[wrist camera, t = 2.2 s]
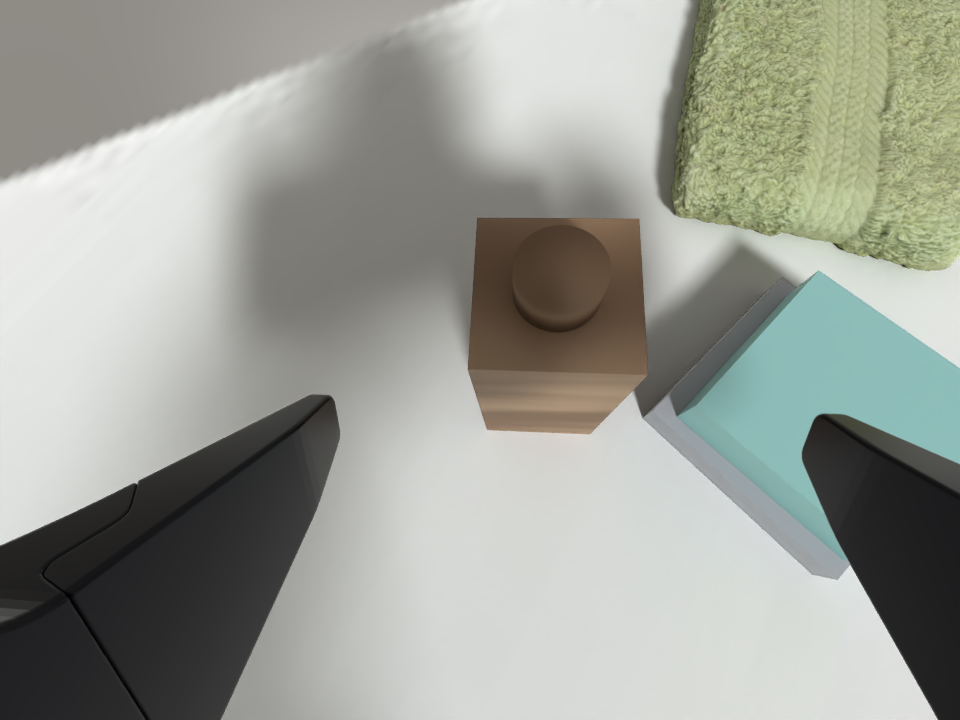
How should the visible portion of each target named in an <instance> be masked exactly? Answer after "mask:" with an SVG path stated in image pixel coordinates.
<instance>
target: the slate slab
mask: <svg viewBox="0 0 960 720" xmlns="http://www.w3.org/2000/svg"><path fill="white" fill-rule="evenodd" d="M795 289H796V287H795V286H793V285H792V284H791V283H789V282H788V281H787V280H785V279H784V278H781V279H780V280H779V281H778V282H777V283H776V284H775V285H773V286H772V287H771V288H770V289H769V290H768V291H767V292H765V293H764V294H763V295H762V296H761V297H760V299H759V300H758V301H757V302H756V303H755V304H754V305H753V306H752V307H751V308H750V309H749V310H748V311H747V312H746V313H745V314H744V315H743V316H742V317H741V318H740V319H739V320H738V321H737V322H736V323H735V324H734V325H733V326H732V327H731V328H730V329H729V330H728V331H727V332H726V333H725V334H724V335H723V336H722V337H721V338H720V339H719V340H718V341H717V342H716V343H715V345H714V346H713V347H712V348H711V349H710V350H709V351H708V352H707V353H706V354H705V355H704V356H703V357H702V358H701V359H700V360H699V361H698V362H697V363H696V364H695V365H694V366H693V367H692V368H691V369H690V370H689V371H688V372H687V373H686V374H685V375H684V376H683V377H682V378H681V379H680V380H679V381H678V382H677V383H676V384H675V385H674V386H673V387H672V388H671V389H670V391H669V392H668V393H667V394H666V395H665V396H664V397H663V398H662V399H661V400H660V401H659V402H658V403H657V404H656V405H655V406H654V407H653V408H652V409H651V410H650V411H649V412H648V413H647V414H646V415H645V416H644V417H643V419H644V420H645V421H646V422H647V423H648V424H649V425H650V426H652V427H653V428H654V429H655V430H656V431H657V432H658V433H659V434H660V435H661V436H662V437H664V438H665V439H666V440H667V441H668V442H669V443H670V444H671V445H672V446H673V447H674V448H675V449H677V450H678V451H679V452H680V453H681V454H682V455H683V456H684V457H685V458H686V459H687V460H688V461H690V462H691V463H692V464H693V465H694V466H695V467H696V468H697V469H698V470H699V471H700V472H702V473H703V474H704V475H705V476H706V477H707V478H708V479H709V480H710V481H711V482H712V483H713V484H715V485H716V486H717V487H718V488H719V489H720V490H721V491H722V492H723V493H724V494H725V495H727V496H728V497H729V498H730V499H731V500H732V501H733V502H734V503H735V504H736V505H737V506H738V507H740V508H741V509H742V510H743V511H744V512H745V513H746V514H747V515H748V516H749V517H750V518H751V519H753V520H754V521H755V522H756V523H757V524H758V525H759V526H760V527H761V528H762V529H763V530H765V531H766V532H767V533H768V534H769V535H770V536H771V537H772V538H773V539H774V540H775V541H776V542H778V543H779V544H780V545H781V546H782V547H783V548H784V549H785V550H786V551H787V552H788V553H790V554H791V555H792V556H793V557H794V558H795V559H796V560H797V561H798V562H799V563H800V564H801V565H803V566H804V567H805V568H806V569H807V570H808V571H809V572H810V573H811V574H812V575H817V576H822V577H827V578H832V579H837V580H838V579H839V578H840V576H841V575H842V574H843V573H844V571H845V570H846V569H847V568H848V566H849V565H850V563H849V561H845V560H842V559H841V558H840V557H839V556H838V555H837V554H835V553H834V552H833V551H832V550H831V549H830V548H828V547H827V546H826V545H825V544H824V543H823V542H821V541H820V540H819V539H818V538H817V537H816V536H815V535H813V534H812V533H811V532H810V531H809V530H808V529H806V528H805V527H804V526H803V525H802V524H801V523H799V522H798V521H797V520H796V519H795V518H794V517H792V516H791V515H790V514H789V513H788V512H787V511H786V510H784V509H783V508H782V507H781V506H780V505H779V504H777V503H776V502H775V501H774V500H773V499H772V498H770V497H769V496H768V495H767V494H766V493H765V492H764V491H762V490H761V489H760V488H759V487H758V486H757V485H755V484H754V483H753V482H752V481H751V480H750V479H748V478H747V477H746V476H745V475H744V474H743V473H741V472H740V471H739V470H738V469H737V468H736V467H735V466H733V465H732V464H731V463H730V462H729V461H728V460H726V459H725V458H724V457H723V456H722V455H721V454H719V453H718V452H717V451H716V450H715V449H714V448H712V447H711V446H710V445H709V444H708V443H707V442H706V441H704V440H703V439H702V438H701V437H700V436H699V435H697V434H696V433H695V432H694V431H693V430H692V429H690V428H689V427H688V426H687V425H686V424H685V423H683V422H682V421H681V420H680V419H679V418H678V417H677V416H678V415H679V414H680V412H681V411H682V410H683V409H684V408H685V407H686V406H687V405H688V404H689V403H690V401H691V400H692V399H693V398H694V397H695V396H696V395H697V394H698V393H699V392H700V391H701V389H702V388H703V387H704V386H705V385H706V384H707V383H708V382H709V381H710V380H711V379H712V377H713V376H714V375H715V374H716V373H717V372H718V371H719V370H720V369H721V368H722V366H723V365H724V364H725V363H726V362H727V361H728V360H729V359H730V358H731V357H732V356H733V354H734V353H735V352H736V351H737V350H738V349H739V348H740V347H741V346H742V345H743V344H744V342H745V341H746V340H747V339H748V338H749V337H750V336H751V335H752V334H753V333H754V331H755V330H756V329H757V328H758V327H759V326H760V325H761V324H762V323H763V322H764V321H765V319H766V318H767V317H768V316H769V315H770V314H771V313H772V312H773V311H774V310H775V309H776V307H777V306H778V305H779V304H780V303H781V302H782V301H783V300H784V299H785V298H786V296H787V295H788V294H790V293H791V292H792V291H793V290H795Z"/></svg>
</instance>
